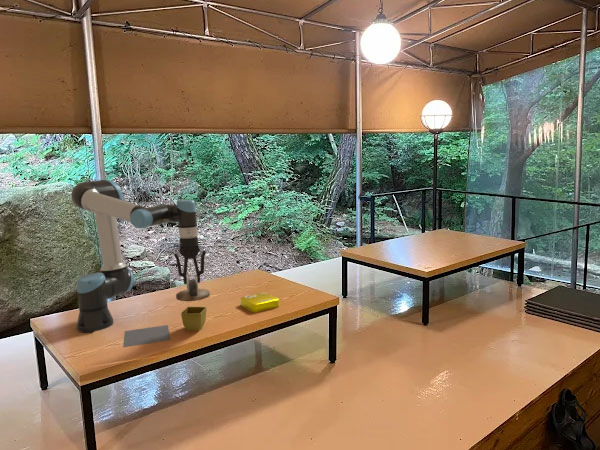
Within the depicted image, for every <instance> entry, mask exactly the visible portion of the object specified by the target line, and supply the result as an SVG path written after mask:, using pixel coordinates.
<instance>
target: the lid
mask: <svg viewBox="0 0 600 450" xmlns="http://www.w3.org/2000/svg"><path fill="white" fill-rule="evenodd" d="M210 295H211V293H210V290H208V289H205V288H198V291H197V284H196V281H195V278H194V279H189V292H187V289H184V290H181V291H179V292H177V293H176V295H175V298H176V300H177V301H180V302H196V301H202V300H204V299H207V298H208V297H210Z"/></svg>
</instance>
